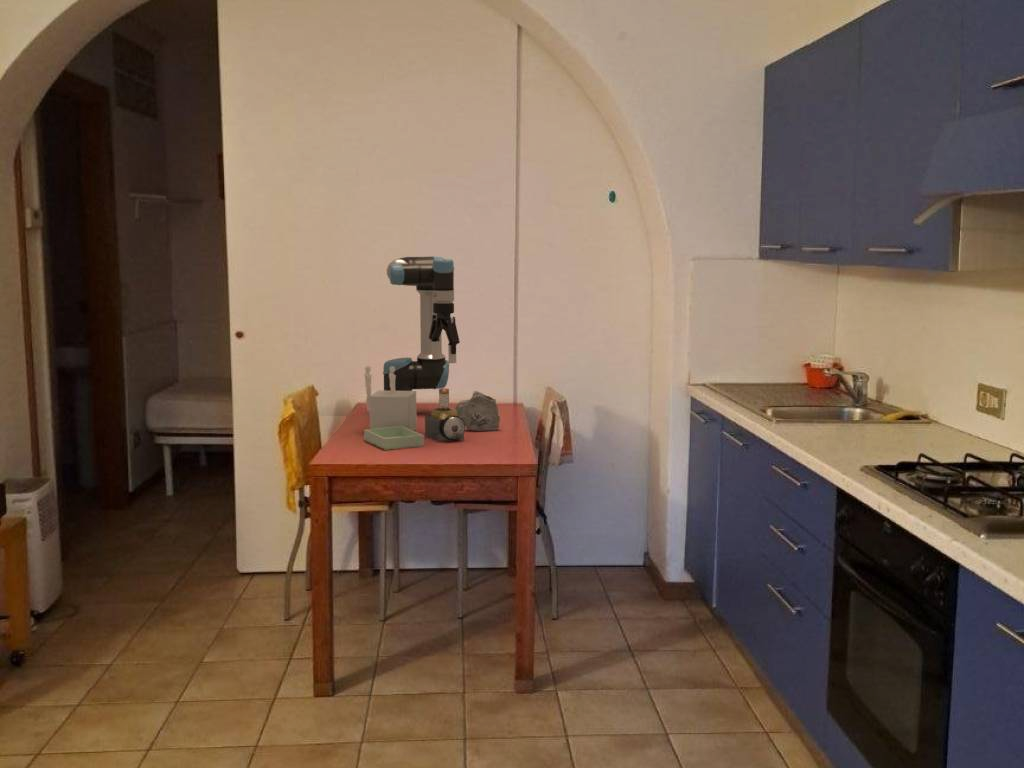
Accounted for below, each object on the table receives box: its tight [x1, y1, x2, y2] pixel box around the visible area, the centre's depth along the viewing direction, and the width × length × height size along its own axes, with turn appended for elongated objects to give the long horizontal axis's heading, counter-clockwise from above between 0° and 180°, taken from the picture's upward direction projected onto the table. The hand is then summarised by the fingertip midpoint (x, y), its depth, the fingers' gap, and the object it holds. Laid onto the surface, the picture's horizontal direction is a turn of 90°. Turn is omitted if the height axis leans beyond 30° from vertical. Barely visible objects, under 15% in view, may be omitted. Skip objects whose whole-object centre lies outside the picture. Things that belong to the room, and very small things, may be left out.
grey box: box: [363, 365, 418, 431], centre depth 379 cm, size 15×18×25 cm
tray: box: [363, 426, 425, 451], centre depth 359 cm, size 20×15×4 cm
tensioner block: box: [424, 407, 466, 443], centre depth 367 cm, size 15×10×10 cm, turn 29°
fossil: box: [454, 390, 501, 432], centre depth 382 cm, size 17×7×15 cm, turn 93°
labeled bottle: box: [438, 388, 450, 411], centre depth 367 cm, size 4×4×10 cm
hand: (444, 361), depth 365 cm, fingers open, 13 cm apart
